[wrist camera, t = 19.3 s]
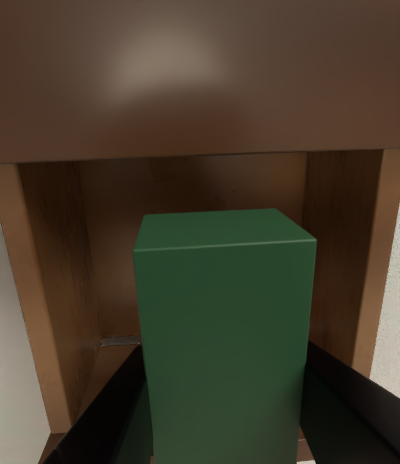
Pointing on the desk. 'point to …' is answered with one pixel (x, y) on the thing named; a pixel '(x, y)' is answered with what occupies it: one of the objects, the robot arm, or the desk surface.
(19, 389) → the desk surface
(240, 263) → the dark green foam brick
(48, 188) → the drawer
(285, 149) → the cabinet
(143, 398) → the robot arm
